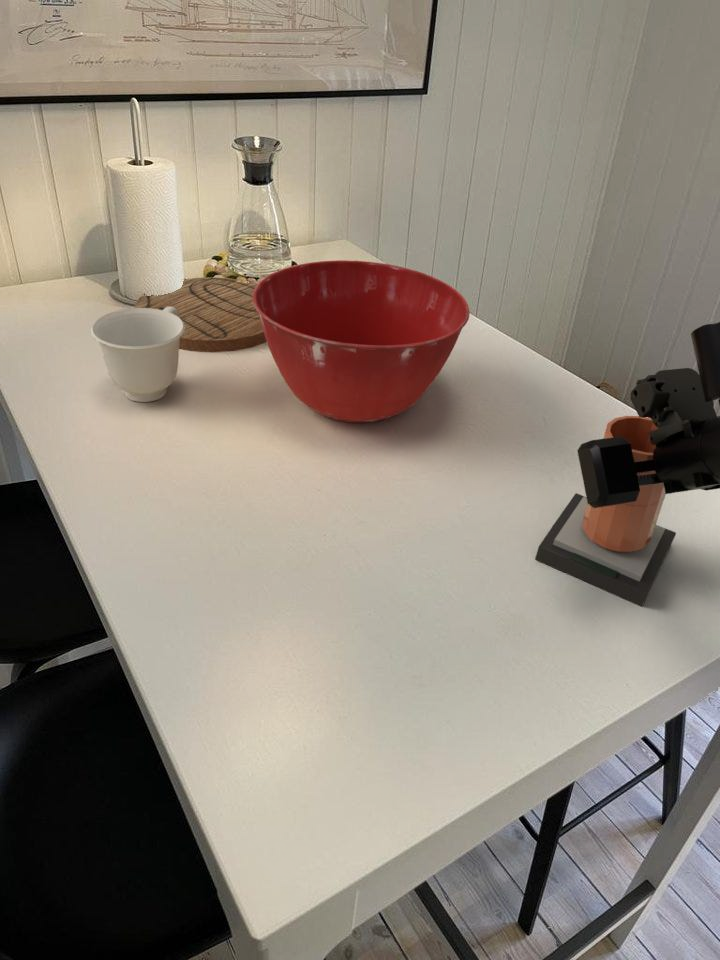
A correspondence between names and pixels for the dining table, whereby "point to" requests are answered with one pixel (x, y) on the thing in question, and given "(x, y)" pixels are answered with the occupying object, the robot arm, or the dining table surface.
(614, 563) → the scale
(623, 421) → the orange faceted cup
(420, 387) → the mixing bowl
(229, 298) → the trivet
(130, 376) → the teacup
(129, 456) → the dining table surface
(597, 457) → the robot arm
